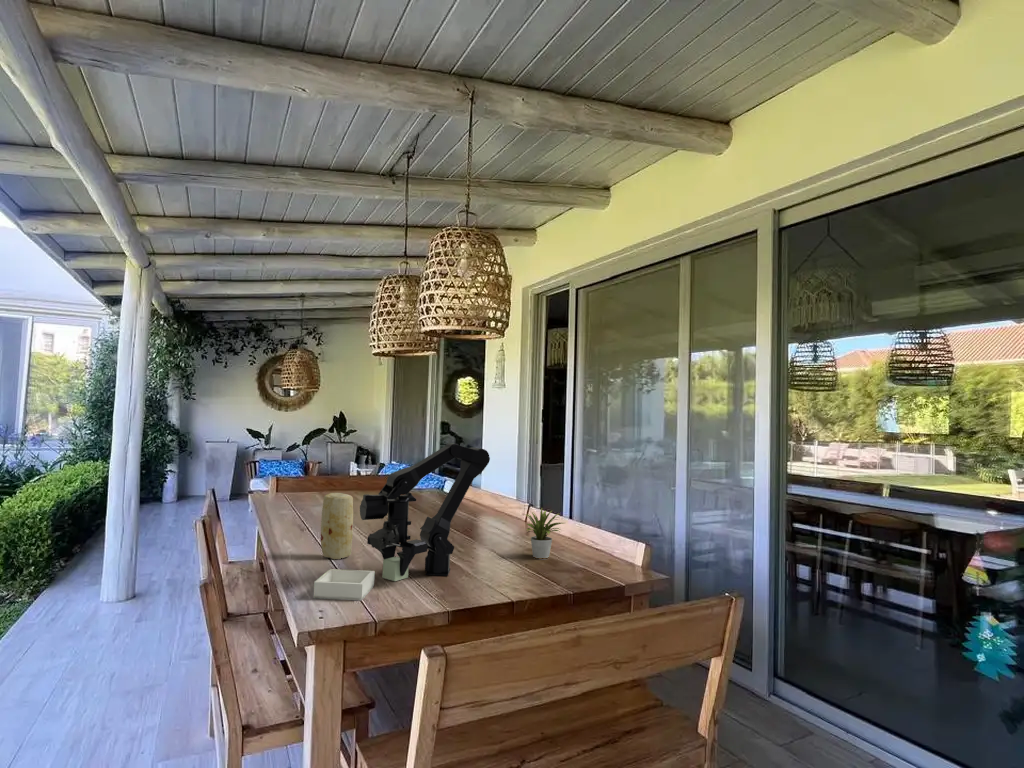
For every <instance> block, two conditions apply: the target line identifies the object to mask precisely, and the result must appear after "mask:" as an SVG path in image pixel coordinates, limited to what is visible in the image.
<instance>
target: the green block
mask: <svg viewBox="0 0 1024 768" xmlns="http://www.w3.org/2000/svg"><path fill="white" fill-rule="evenodd" d="M409 566H410V565H409ZM409 566H408V568H407V570H406V572H405V574H404V575H403V576H400V557H399V556H394V557H392V558H388V559H382V576H381V577H382V579H386V580H389V581H392V582H396V581H397V582H398V581H400V580H404V579H408V578H409Z"/></svg>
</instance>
